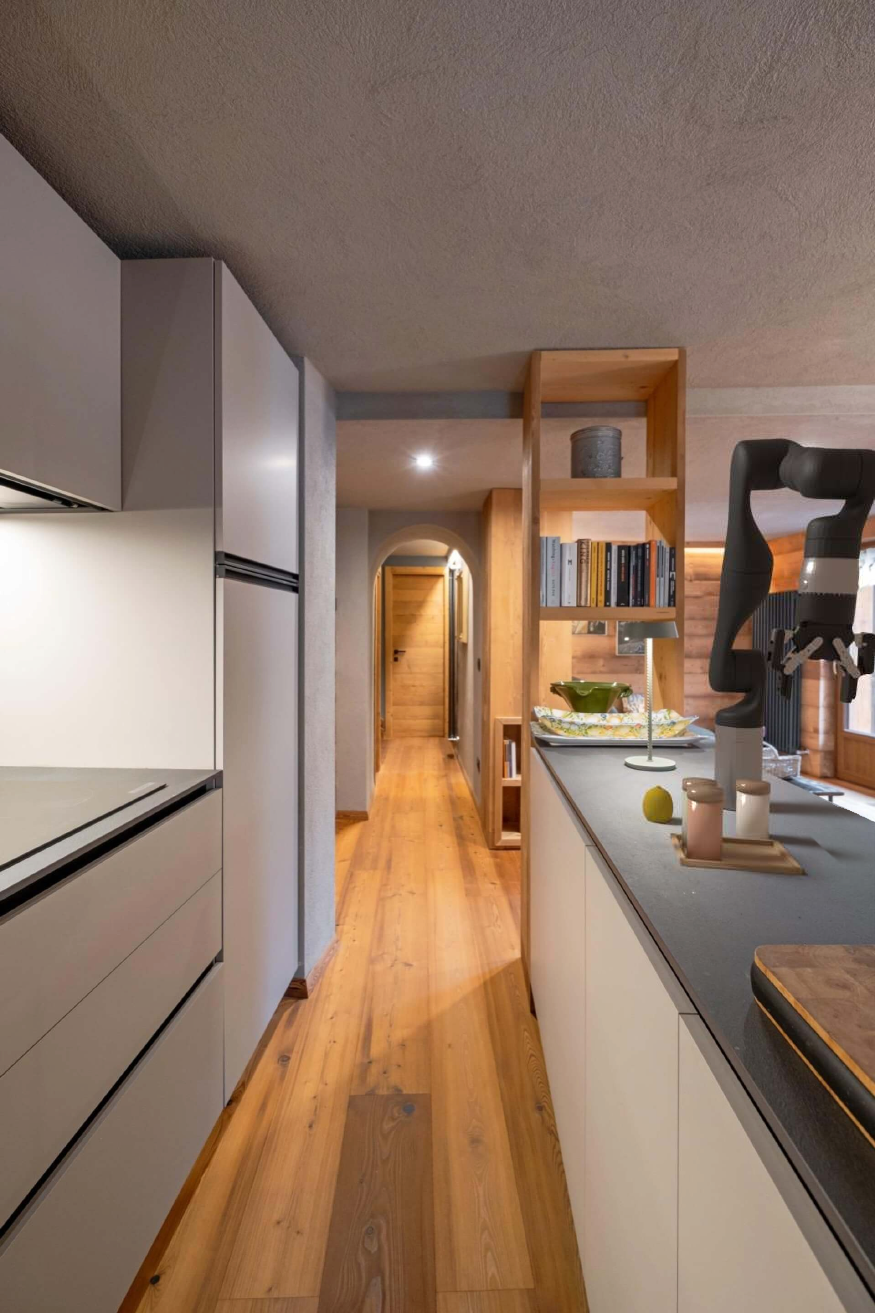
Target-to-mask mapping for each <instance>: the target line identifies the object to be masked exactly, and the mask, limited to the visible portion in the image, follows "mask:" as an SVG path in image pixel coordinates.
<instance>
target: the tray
mask: <svg viewBox="0 0 875 1313" xmlns="http://www.w3.org/2000/svg"><path fill="white" fill-rule="evenodd" d="M669 839H670V841H671V842H670V843H671V844H672V847H673V849H674V851H675V854H676V857H677V859H678V862H679V864H680V866H682V867H691V868H692V867H696V868H705V869H707V868H708V869H721V870H734V871H747V872H761V873H774V874H787V875H801V876H803V875H804V868H803V867H802V866H801V865H800V864H799V863H798V862H797V861H796V859H795V858H794V857H793V856H792V855H791V854H790V853H789V851H788V850H786V848H785V847H784V846H783V844H781V843H780V841H779V840H777V839H753V838H739V837H737V836H722V861H709V860H695V859H688V858H687V857H686V851H687V849H685V848H683V847H682V833H678V832H675V833H674V832H670V833H669Z"/></svg>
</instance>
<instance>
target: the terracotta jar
mask: <svg viewBox="0 0 875 1313" xmlns="http://www.w3.org/2000/svg"><path fill="white" fill-rule="evenodd" d="M723 801H724V789H722V788H720V787H716V786H710V785H690V786H687V851H686V857H687V858H688V859H695V860H709V861H722V836H723V835H724V834H723V833H724V832H723V830H724V829H723V828H724V827H723V826H724V820H723V819H724V808H723ZM723 837H724V836H723Z"/></svg>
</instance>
